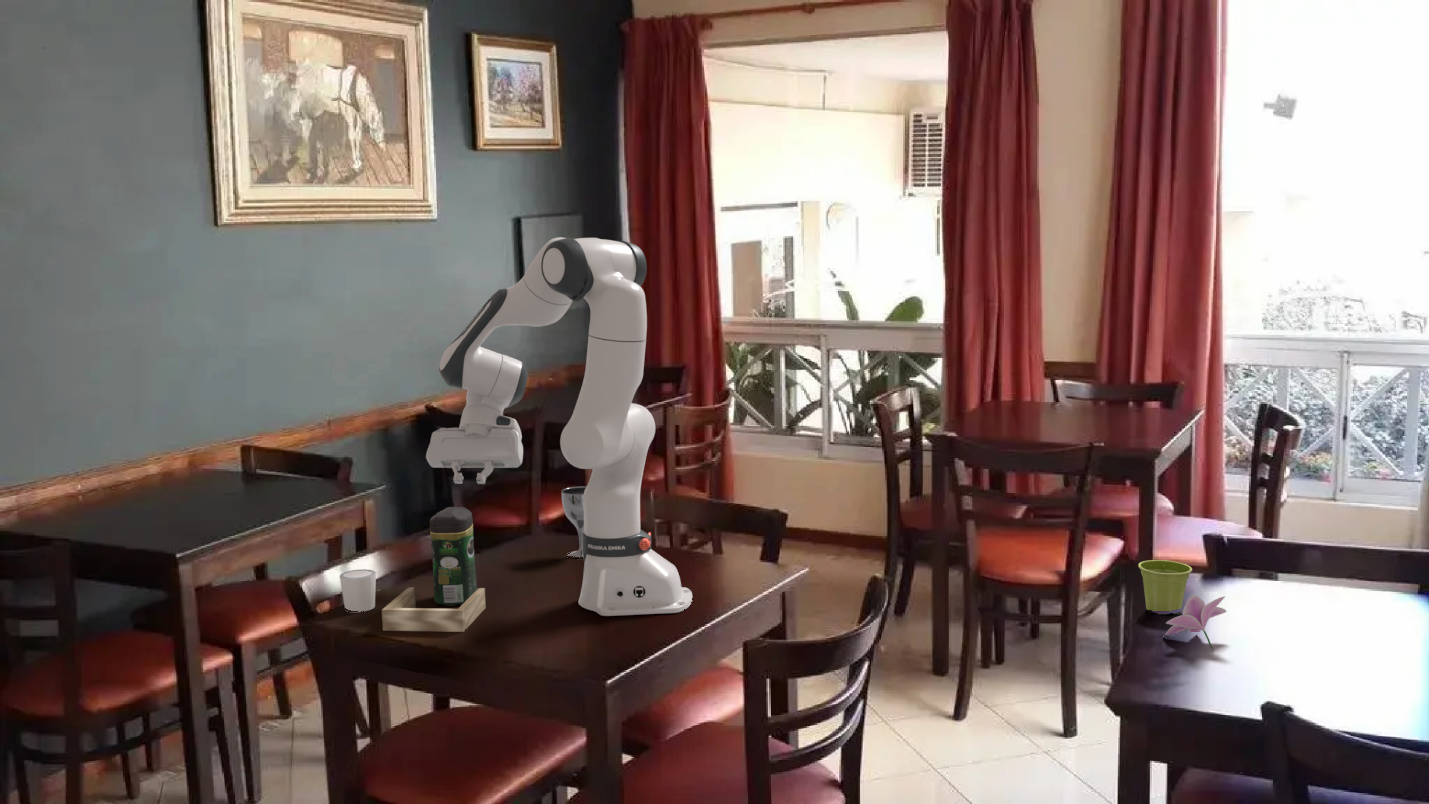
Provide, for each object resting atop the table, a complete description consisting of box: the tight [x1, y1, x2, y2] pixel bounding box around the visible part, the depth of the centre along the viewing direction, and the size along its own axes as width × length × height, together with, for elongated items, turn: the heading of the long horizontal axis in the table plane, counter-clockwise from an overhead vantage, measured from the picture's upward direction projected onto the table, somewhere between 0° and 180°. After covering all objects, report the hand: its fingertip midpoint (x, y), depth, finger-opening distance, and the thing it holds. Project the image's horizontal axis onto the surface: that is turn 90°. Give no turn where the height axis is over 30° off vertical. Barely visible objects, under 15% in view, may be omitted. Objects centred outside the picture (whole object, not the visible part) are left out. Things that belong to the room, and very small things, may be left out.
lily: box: [1164, 594, 1227, 647], centre depth 211 cm, size 12×12×10 cm
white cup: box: [339, 568, 377, 613], centre depth 241 cm, size 7×7×7 cm
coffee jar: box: [429, 506, 478, 607], centre depth 244 cm, size 10×8×19 cm
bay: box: [381, 586, 487, 633], centre depth 234 cm, size 15×14×4 cm
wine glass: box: [561, 485, 587, 558], centre depth 276 cm, size 8×8×15 cm
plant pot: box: [1138, 559, 1193, 611], centre depth 229 cm, size 9×9×9 cm
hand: (468, 482), depth 255 cm, fingers open, 3 cm apart
